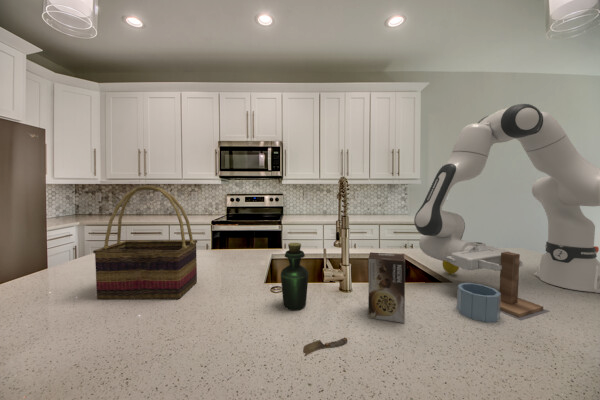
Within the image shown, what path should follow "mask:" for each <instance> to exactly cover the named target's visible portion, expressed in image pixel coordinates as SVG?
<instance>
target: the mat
mask: <svg viewBox="0 0 600 400" xmlns="http://www.w3.org/2000/svg"><path fill="white" fill-rule="evenodd" d="M550 312H551V311H550V310H547V309H545V308H543V310H542V311H539V312H536V313H533V314H529V315H526V316H523V317H520V318H518V317H516V316H513V315H511V314H508V313H506V312H504V311H501V310H500V313H502V314H504V315H507V316H508V317H511V318H514V319H516V320H518V321H524V320H527V319H530V318H533V317H536V316H540V315H543V314H547V313H550Z"/></svg>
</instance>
